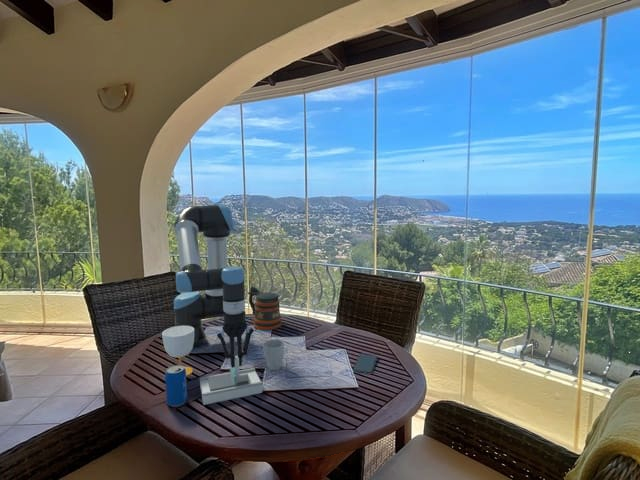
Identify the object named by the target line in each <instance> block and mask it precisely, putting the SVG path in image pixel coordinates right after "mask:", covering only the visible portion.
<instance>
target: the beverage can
mask: <svg viewBox="0 0 640 480" xmlns="http://www.w3.org/2000/svg"><path fill="white" fill-rule="evenodd" d="M184 367H185V366H184V365H183V364H182V365H179V364H174V365H171V366H169V367H167V368H166V371H165V373H164V377H165V393H166V404H167V405H168V406H171V407H172V408H174V407H175V408H176V407H180V406H182V405H184V404H185V403H186V402H187V401H188V389H187V387H188V386H187V385H188V383H187V376H186V370H185V369H184Z"/></svg>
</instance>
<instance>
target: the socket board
mask: <svg viewBox="0 0 640 480" xmlns="http://www.w3.org/2000/svg"><path fill="white" fill-rule="evenodd" d="M224 374H230V371H229V372H225V373H220V374H213V375H207V376H202V377H199V386H200V387H199V388H200V393H201V399H202V404H203V405H204V406H205V405H209V404H214V403H219V402H224V401H230V400H234V399H239V398H245V397H249V396H254V395H257V394H261V393H263V381H262V380H261V379H260V377H259V375H258V373H257V372H256V367H251V368H246V369H239V374H240V376H238V377H237V386H236V387H231V388H226V389H221V390H216V391H211V392H210V388H209V384H208V379H207V378H208V377H213V376H219V375H224Z"/></svg>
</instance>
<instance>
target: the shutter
mask: <svg viewBox="0 0 640 480" xmlns="http://www.w3.org/2000/svg"><path fill="white" fill-rule="evenodd" d="M229 372H230V374H224V375H219V376H213V377H208V378H207V379H208V384H209V388H210V392H211V391H216V390H221V389H226V388H231V387H236V386H237V375H236V373H235V370H234V367H233V368H232V367H231V365H229Z"/></svg>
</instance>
